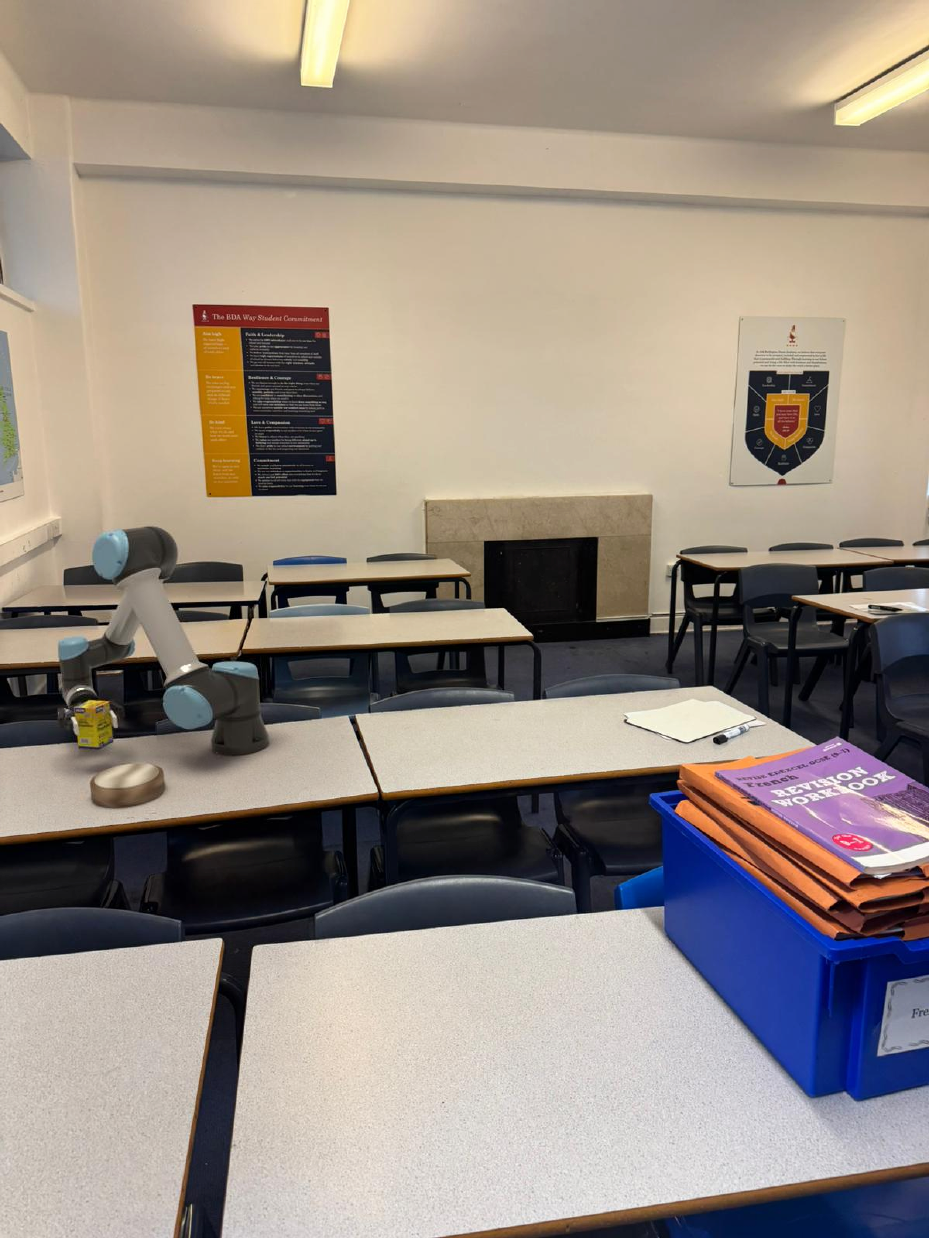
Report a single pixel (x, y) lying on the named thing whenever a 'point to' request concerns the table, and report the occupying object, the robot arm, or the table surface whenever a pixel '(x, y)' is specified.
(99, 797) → the podium
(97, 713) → the supplement box
